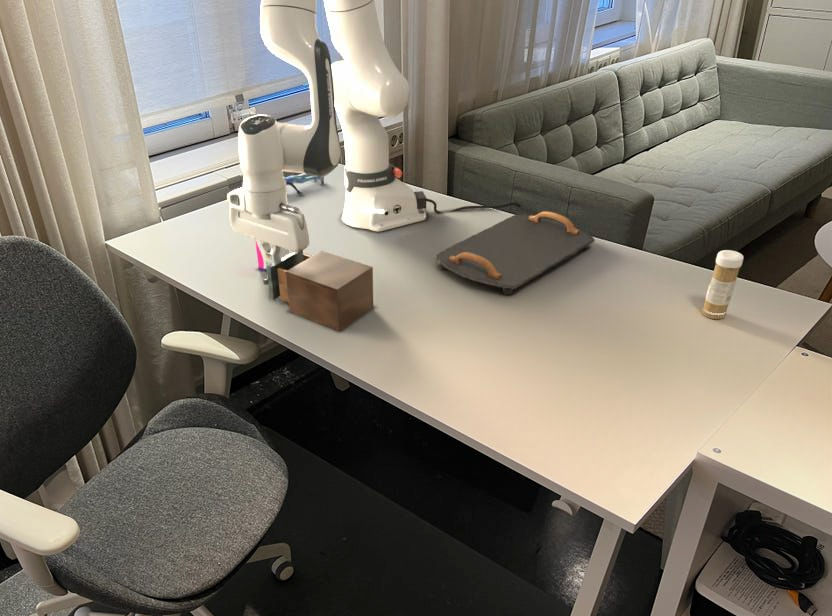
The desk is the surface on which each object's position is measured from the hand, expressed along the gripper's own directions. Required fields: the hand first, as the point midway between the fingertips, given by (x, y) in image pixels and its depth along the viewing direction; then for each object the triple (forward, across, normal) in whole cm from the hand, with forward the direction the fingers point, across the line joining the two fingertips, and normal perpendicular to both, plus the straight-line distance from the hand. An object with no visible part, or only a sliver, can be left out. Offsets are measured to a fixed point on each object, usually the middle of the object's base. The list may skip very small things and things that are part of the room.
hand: (272, 259), depth 154 cm
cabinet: (+7, -16, 0) cm, 18 cm away
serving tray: (+8, -37, -44) cm, 57 cm away
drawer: (+6, -8, 0) cm, 10 cm away
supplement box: (+8, +8, -8) cm, 14 cm away
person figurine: (+8, +37, -48) cm, 61 cm away
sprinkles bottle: (+8, -81, -43) cm, 92 cm away
